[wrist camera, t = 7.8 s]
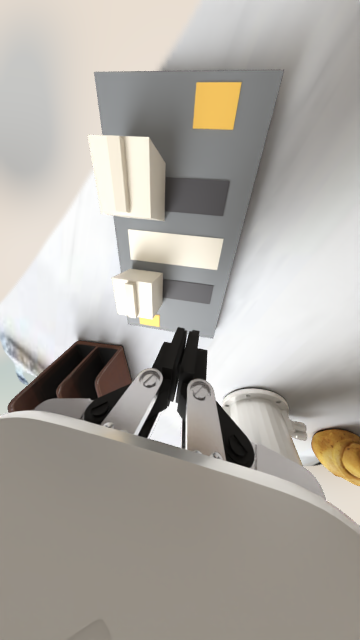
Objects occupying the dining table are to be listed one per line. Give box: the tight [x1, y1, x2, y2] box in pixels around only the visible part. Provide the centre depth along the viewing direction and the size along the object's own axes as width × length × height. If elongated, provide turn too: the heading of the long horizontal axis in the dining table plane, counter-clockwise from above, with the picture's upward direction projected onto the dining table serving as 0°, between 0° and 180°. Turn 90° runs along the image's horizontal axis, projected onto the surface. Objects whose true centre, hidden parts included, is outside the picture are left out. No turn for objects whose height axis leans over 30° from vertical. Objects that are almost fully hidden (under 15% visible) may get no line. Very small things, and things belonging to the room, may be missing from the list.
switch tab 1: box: [88, 135, 166, 221], centre depth 11 cm, size 4×4×5 cm
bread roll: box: [311, 429, 360, 486], centre depth 29 cm, size 13×10×8 cm
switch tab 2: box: [112, 269, 163, 319], centre depth 16 cm, size 4×4×5 cm
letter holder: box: [8, 341, 132, 413], centre depth 28 cm, size 10×20×14 cm, turn 0°
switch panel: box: [94, 70, 284, 338], centre depth 16 cm, size 13×22×2 cm, turn 176°
